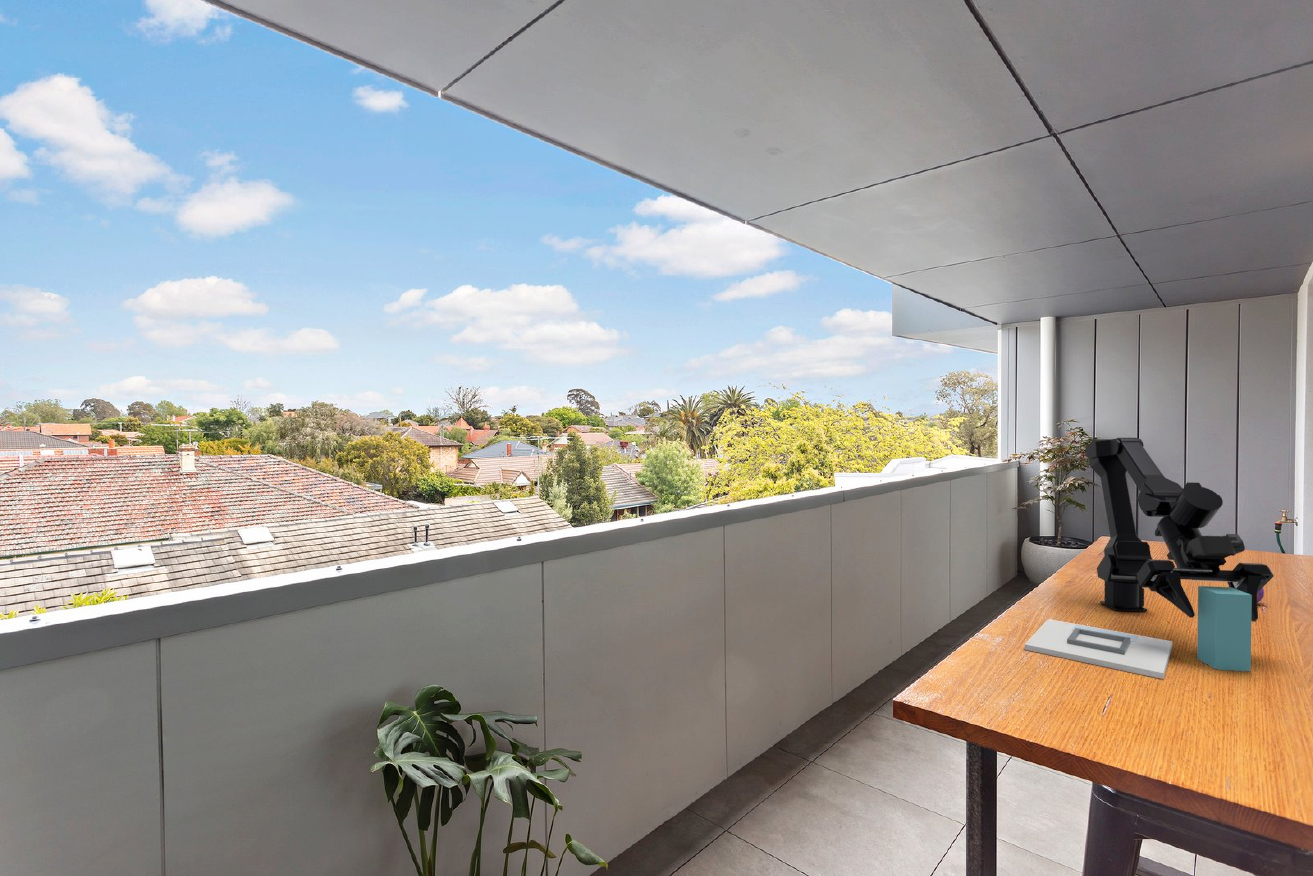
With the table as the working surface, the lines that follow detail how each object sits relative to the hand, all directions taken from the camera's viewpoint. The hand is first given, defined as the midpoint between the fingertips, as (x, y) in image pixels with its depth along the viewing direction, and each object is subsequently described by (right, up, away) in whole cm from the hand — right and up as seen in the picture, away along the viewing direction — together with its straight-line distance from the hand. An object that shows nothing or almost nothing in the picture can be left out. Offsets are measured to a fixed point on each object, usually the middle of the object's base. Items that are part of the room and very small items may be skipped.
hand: (1223, 618), depth 107 cm
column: (0, -8, 0) cm, 8 cm away
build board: (-15, -8, +8) cm, 19 cm away
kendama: (+34, -8, +32) cm, 47 cm away
